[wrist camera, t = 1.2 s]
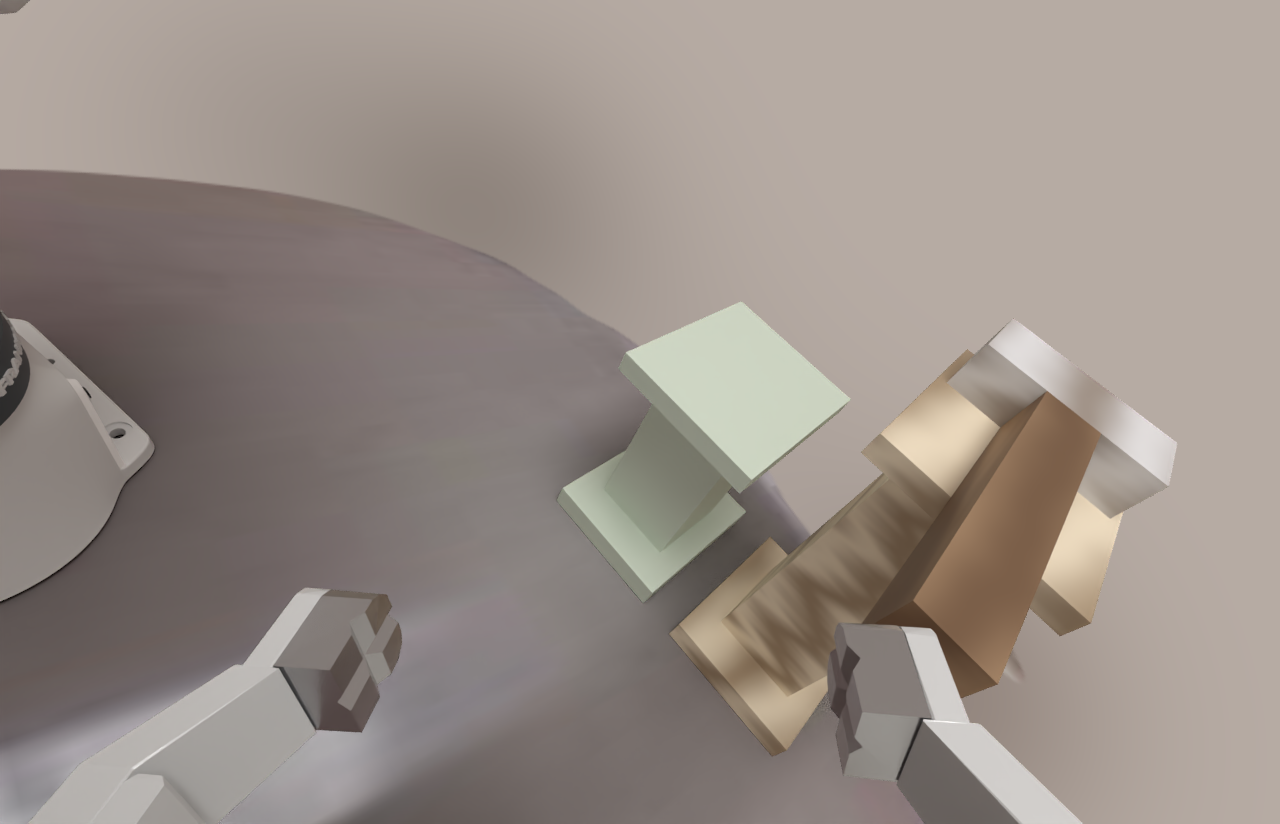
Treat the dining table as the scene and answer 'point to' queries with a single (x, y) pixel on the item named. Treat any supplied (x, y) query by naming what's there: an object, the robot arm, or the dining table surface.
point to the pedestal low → (697, 442)
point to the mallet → (1019, 500)
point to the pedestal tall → (867, 569)
